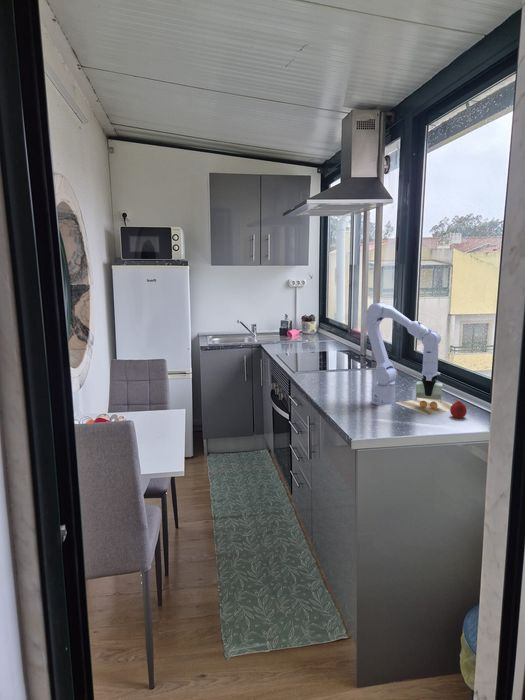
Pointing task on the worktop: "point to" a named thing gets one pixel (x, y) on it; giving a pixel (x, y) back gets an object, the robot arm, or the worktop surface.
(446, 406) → the birch board
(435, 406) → the marble
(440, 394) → the sage container
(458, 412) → the red rounded piece
